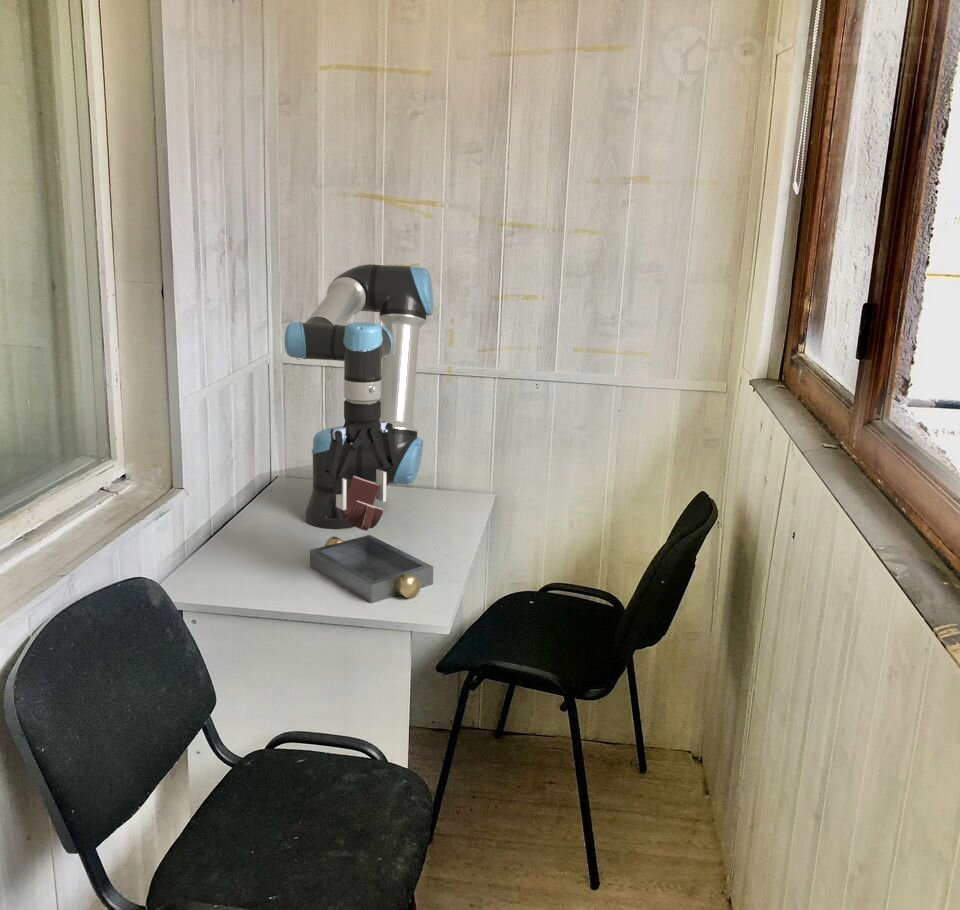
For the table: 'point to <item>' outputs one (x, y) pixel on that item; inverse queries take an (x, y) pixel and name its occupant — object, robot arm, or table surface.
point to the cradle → (371, 568)
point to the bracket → (361, 504)
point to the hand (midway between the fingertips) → (361, 503)
